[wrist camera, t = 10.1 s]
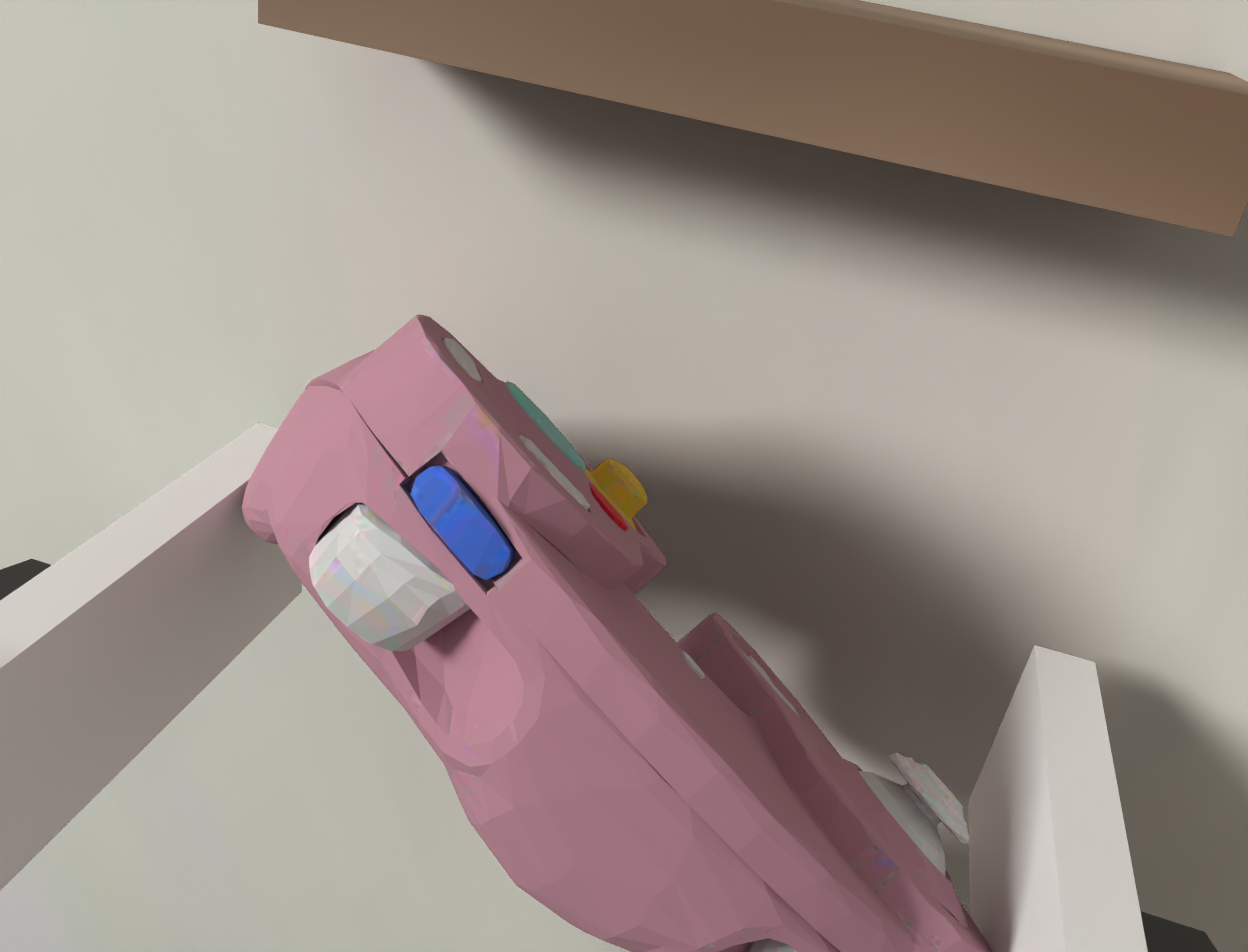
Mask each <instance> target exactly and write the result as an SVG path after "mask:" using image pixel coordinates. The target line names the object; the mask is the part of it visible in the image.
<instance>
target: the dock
mask: <svg viewBox="0 0 1248 952" xmlns="http://www.w3.org/2000/svg"><path fill="white" fill-rule="evenodd" d="M258 23H260V24H264V25H269V26H273V27H278V28H282V29H287V30H291V31H296V32H301V33H305V34H310V35H314V36H319V37H323V38H328V39H332V40H337V41H342V42H346V43H351V44H355V45H360V46H364V47H369V48H373V49H378V50H383V51H387V52H392V53H396V54H401V55H405V56H410V57H414V58H419V59H424V60H428V61H433V62H437V63H442V64H446V65H451V66H455V67H460V68H465V69H469V70H474V71H478V72H483V73H487V74H492V75H496V76H501V77H506V78H510V79H515V80H519V81H524V82H528V83H533V84H537V85H542V86H547V87H551V88H556V89H560V90H565V91H569V92H574V93H578V94H583V95H588V96H592V97H597V98H601V99H606V100H610V101H615V102H619V103H624V104H629V105H633V106H638V107H642V108H647V109H651V110H656V111H660V112H665V113H670V114H674V115H679V116H683V117H688V118H692V119H697V120H701V121H706V122H711V123H715V124H720V125H724V126H729V127H733V128H738V129H742V130H747V131H752V132H756V133H761V134H765V135H770V136H774V137H779V138H783V139H788V140H793V141H797V142H802V143H806V144H811V145H815V146H820V147H824V148H829V149H834V150H838V151H843V152H847V153H852V154H856V155H861V156H865V157H870V158H875V159H879V160H884V161H888V162H893V163H897V164H902V165H906V166H911V167H916V168H920V169H925V170H929V171H934V172H938V173H943V174H947V175H952V176H957V177H961V178H966V179H970V180H975V181H979V182H984V183H988V184H993V185H998V186H1002V187H1007V188H1011V189H1016V190H1020V191H1025V192H1029V193H1034V194H1039V195H1043V196H1048V197H1052V198H1057V199H1061V200H1066V201H1070V202H1075V203H1080V204H1084V205H1089V206H1093V207H1098V208H1102V209H1107V210H1111V211H1116V212H1121V213H1125V214H1130V215H1134V216H1139V217H1143V218H1148V219H1152V220H1157V221H1162V222H1166V223H1171V224H1175V225H1180V226H1184V227H1189V228H1193V229H1198V230H1203V231H1207V232H1212V233H1216V234H1221V235H1225V236H1230V237H1233V235H1234V233H1235V231H1236V228H1237V226H1238V224H1239V222H1240V219H1241V217H1242V215H1243V212H1244V210H1245V208H1246V205H1247V203H1248V82H1247V81H1244V80H1242V79H1240V78H1238V77H1236V76H1234V75H1232V74H1230V73H1226V72H1221V71H1216V70H1211V69H1206V68H1201V67H1196V66H1191V65H1186V64H1180V63H1175V62H1170V61H1165V60H1160V59H1155V58H1150V57H1145V56H1140V55H1135V54H1130V53H1124V52H1119V51H1114V50H1109V49H1104V48H1099V47H1094V46H1089V45H1084V44H1079V43H1074V42H1068V41H1063V40H1058V39H1053V38H1048V37H1043V36H1038V35H1033V34H1028V33H1023V32H1018V31H1012V30H1007V29H1002V28H997V27H992V26H987V25H982V24H977V23H972V22H967V21H962V20H956V19H951V18H946V17H941V16H936V15H931V14H926V13H921V12H916V11H911V10H906V9H901V8H895V7H890V6H885V5H880V4H875V3H870V2H865V1H860V0H258Z"/></svg>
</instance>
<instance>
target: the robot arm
mask: <svg viewBox="0 0 1248 952" xmlns="http://www.w3.org/2000/svg"><path fill="white" fill-rule="evenodd" d="M278 429H279V428H275V427H272V426H268V425H265V424H261V423H257V424H255V425H254V426H252V427H251V428H250V429H248V430H247V431H245V432H244V433H242V434H241V435H239V436H238V437H237V438H235V439H234V440H232V441H231V442H229V443H228V444H226V445H225V446H224V447H222V448H221V449H219V450H218V451H216V452H215V453H213V454H212V455H210V456H209V457H208V458H206V459H205V460H203V461H202V462H200V463H199V464H197V465H196V466H195V467H193V468H192V469H190V470H189V471H187V472H186V473H184V474H183V475H182V476H180V477H179V478H177V479H176V480H174V481H173V482H171V483H170V484H168V485H167V486H166V487H164V488H163V489H161V490H160V491H158V492H157V493H155V494H154V495H153V496H151V497H150V498H148V499H147V500H145V501H144V502H142V503H141V504H140V505H138V506H137V507H135V508H134V509H132V510H131V511H129V512H128V513H126V514H125V515H124V516H122V517H121V518H119V519H118V520H116V521H115V522H113V523H112V524H111V525H109V526H108V527H106V528H105V529H103V530H102V531H100V532H99V533H98V534H96V535H95V536H93V537H92V538H90V539H89V540H87V541H86V542H84V543H83V544H82V545H80V546H79V547H77V548H76V549H74V550H73V551H71V552H70V553H69V554H67V555H66V556H64V557H63V558H61V559H60V560H58V561H57V562H56V563H54V564H53V565H50V564H46V563H43V562H40V561H37V560H34V559H30V560H27V561H24V562H21V563H18V564H16V565H13V566H10V567H7V568H4V569H1V570H0V890H1V889H2V888H3V887H4V886H5V885H6V884H7V883H8V882H9V881H10V880H11V879H13V878H14V877H15V876H16V875H17V874H18V873H19V872H20V871H21V870H22V869H23V868H24V867H25V866H26V865H27V864H28V863H29V862H30V861H31V860H32V859H33V858H34V857H35V856H36V855H37V854H38V853H39V852H40V851H41V850H42V849H43V848H44V847H45V846H46V845H47V844H48V843H49V842H50V841H51V840H52V839H53V838H54V837H55V836H56V835H57V834H58V833H59V832H60V831H61V830H62V829H63V828H64V827H65V826H66V825H67V824H68V823H69V822H70V821H71V820H72V819H73V818H74V817H75V816H76V815H77V814H78V813H79V812H80V811H81V810H82V809H83V808H84V807H85V806H86V805H87V804H88V803H89V802H90V801H91V800H92V799H93V798H94V797H95V796H96V795H97V794H98V793H99V792H100V791H101V790H102V789H103V788H104V787H105V786H106V785H107V784H108V783H109V782H110V781H111V780H112V779H113V778H114V777H115V776H116V775H117V774H118V773H119V772H120V771H121V770H122V769H123V768H124V767H125V766H126V765H127V764H128V763H129V762H130V761H131V760H132V759H133V758H134V757H135V756H136V755H137V754H138V753H140V752H141V751H142V750H143V749H144V748H145V747H146V746H147V745H148V744H149V743H150V742H151V741H152V740H153V739H154V738H155V737H156V736H157V735H158V734H159V733H160V732H161V731H162V730H163V729H164V728H165V727H166V726H167V725H168V724H169V723H170V722H171V721H172V720H173V719H174V718H175V717H176V716H177V715H178V714H179V713H180V712H181V711H182V710H183V709H184V708H185V707H186V706H187V705H188V704H189V703H190V702H191V701H192V700H193V699H194V698H195V697H196V696H197V695H198V694H199V693H200V692H201V691H202V690H203V689H204V688H205V687H206V686H207V685H208V684H209V683H210V682H211V681H212V680H213V679H214V678H215V677H216V676H217V675H218V674H219V673H220V672H221V671H222V670H223V669H224V668H225V667H226V666H227V665H228V664H229V663H230V662H231V661H232V660H233V659H234V658H235V657H236V656H237V655H238V654H239V653H240V652H241V651H242V650H243V649H244V648H245V647H246V646H247V645H248V644H249V643H250V642H251V641H252V640H253V639H254V638H255V637H256V636H257V635H258V634H259V633H260V632H261V631H262V630H263V629H264V628H265V627H267V626H268V625H269V624H270V623H271V622H272V621H273V620H274V619H275V618H276V617H277V616H278V615H279V614H280V613H281V612H282V611H283V610H284V609H285V608H286V607H287V606H288V605H289V604H290V603H291V602H292V601H293V600H294V599H295V598H296V597H297V596H298V595H299V594H300V593H301V592H302V582H301V581H300V580H299V578H298V577H297V576H296V574H295V573H294V571H293V569H292V568H291V566H290V564H289V562H288V561H287V559H286V557H285V556H284V554H283V552H282V550H281V549H280V547H279V544H272V543H268V542H265V541H264V540H262V539H261V538H260V537H259V536H258V535H256V534H255V533H254V532H253V531H252V530H251V529H250V528H249V526H248V525H247V523H246V522H245V520H244V516H243V511H242V504H243V498H244V493H245V490H246V487H247V484H248V481H249V479H250V477H251V475H252V473H253V472H254V470H255V468H256V466H257V464H258V463H259V461H260V459H261V457H262V456H263V454H264V452H265V450H266V448H267V447H268V445H269V443H270V442H271V440H272V439H273V437H274V436H275V434H276V432H277V431H278ZM969 836H970V839H969V911H970V917H971V918H972V920H973V921H974V923H975V924H976V926H977V927H978V929H979V930H980V932H981V933H982V935H983V936H984V938H985V939H986V940H987V942H988V944H989V946H990V948H991V949H992V951H993V952H1218V951H1217V950H1216V948H1215V947H1214V945H1213V944H1212V942H1211V941H1210V939H1209V938H1208V936H1207V935H1206V933H1205V932H1203V931H1200V930H1197V929H1194V928H1190V927H1187V926H1184V925H1181V924H1178V923H1175V922H1172V921H1169V920H1166V919H1162V918H1159V917H1156V916H1153V915H1150V914H1147V913H1144V912H1141V911H1140V907H1139V901H1138V896H1137V890H1136V885H1135V879H1134V874H1133V868H1132V863H1131V857H1130V852H1129V846H1128V841H1127V835H1126V830H1125V824H1124V819H1123V813H1122V808H1121V802H1120V797H1119V791H1118V786H1117V780H1116V775H1115V769H1114V764H1113V758H1112V753H1111V747H1110V742H1109V736H1108V731H1107V725H1106V720H1105V714H1104V709H1103V703H1102V698H1101V692H1100V687H1099V681H1098V676H1097V670H1096V665H1095V662H1092V661H1089V660H1085V659H1082V658H1078V657H1075V656H1071V655H1068V654H1064V653H1061V652H1057V651H1054V650H1050V649H1047V648H1043V647H1040V646H1036V645H1034V647H1033V650H1032V652H1031V655H1030V657H1029V659H1028V662H1027V664H1026V666H1025V669H1024V671H1023V673H1022V676H1021V678H1020V680H1019V683H1018V685H1017V688H1016V690H1015V692H1014V695H1013V697H1012V699H1011V702H1010V704H1009V706H1008V709H1007V711H1006V713H1005V716H1004V718H1003V721H1002V723H1001V725H1000V728H999V730H998V732H997V735H996V737H995V739H994V742H993V744H992V746H991V749H990V751H989V753H988V756H987V758H986V761H985V763H984V765H983V768H982V770H981V772H980V775H979V777H978V779H977V782H976V784H975V786H974V789H973V791H972V794H971V796H970V798H969Z"/></svg>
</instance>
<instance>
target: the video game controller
mask: <svg viewBox="0 0 1248 952" xmlns="http://www.w3.org/2000/svg"><path fill="white" fill-rule="evenodd" d="M647 501H648V498H647V495H646V493H645V490H644V488H643V486H642V485H641V483H640V482H639V480H638V479H637V478H636V476H635V475H634V474H633V473H632V472H631V471H630V470H629V469H628V468H627V467H626V466H624V465H623V464H621V463H619V462H617V461H616V460H614V459H606V460H605V461H604V462H602V463H601V464H600V465H599V466H598V467H596V468H595V469H594V470H593V469H592V468H591V467H590V466H589V465H588V464H587V462H586V461H585V460H584V459H583V458H582V457H581V456H580V455H579V454H578V453H577V452H576V451H575V450H574V448H573V447H572V446H571V445H570V443H569V442H568V441H567V440H566V438H565V437H564V436H563V435H562V434H561V432H560V431H559V430H558V429H557V428H556V427H555V425H554V424H553V423H552V422H551V421H550V420H549V419H548V417H547V416H546V415H545V414H544V413H543V412H542V411H541V410H540V409H539V408H538V407H537V406H536V405H535V404H534V403H533V402H532V401H531V400H530V399H529V398H528V397H527V396H526V395H525V394H524V393H523V392H522V391H521V390H520V389H519V388H518V387H517V386H516V385H515V384H513V383H510V382H506V383H504V382H502V381H500V380H498V379H496V378H495V377H494V376H493V375H492V374H491V373H490V372H489V371H488V370H487V369H486V368H485V367H484V366H483V365H482V364H481V363H480V362H479V361H478V360H477V359H476V358H475V357H474V356H473V355H472V354H471V353H470V352H469V351H468V350H467V349H466V348H465V347H464V346H463V345H462V344H461V343H460V342H459V341H458V340H457V339H456V338H455V337H454V336H453V335H452V334H450V333H449V332H448V331H447V330H445V329H444V328H443V327H442V326H440V325H439V324H438V323H437V322H435V321H434V320H433V319H432V318H430V317H428V316H424V315H416V316H415V317H414V318H413V319H412V320H410V321H409V322H408V323H407V324H406V325H405V326H403V327H402V328H401V329H400V330H399V331H397V332H396V333H395V334H394V335H393V336H392V337H390V338H389V339H388V340H387V341H386V342H384V343H383V344H382V345H381V346H380V347H379V348H377V349H376V350H373V351H371V352H369V353H367V354H364V355H362V356H360V357H358V358H356V359H353V360H351V361H349V362H347V363H345V364H343V365H341V366H339V367H337V368H335V369H333V370H331V371H329V372H328V373H326V374H324V375H322V376H320V377H318V378H316V379H314V380H312V381H311V382H310V383H309V384H308V386H307V387H306V389H305V391H304V392H303V393H302V395H301V396H300V397H299V399H298V400H297V401H296V403H295V405H294V406H293V408H292V409H291V411H290V412H289V414H288V415H287V417H286V418H285V420H284V422H283V423H282V425H281V426H280V428H279V429H278V431H277V432H276V434H275V436H274V437H273V439H272V440H271V442H270V443H269V445H268V447H267V448H266V450H265V452H264V454H263V456H262V457H261V459H260V461H259V463H258V464H257V466H256V468H255V470H254V472H253V473H252V475H251V477H250V479H249V481H248V484H247V487H246V490H245V493H244V498H243V504H242V511H243V516H244V520H245V522H246V523H247V525H248V526H249V528H250V529H251V530H252V531H253V532H254V533H255V534H256V535H258V536H259V537H260V538H261V539H262V540H264V541H265V542H268V543H272V544H279V547H280V549H281V550H282V552H283V554H284V556H285V557H286V559H287V561H288V562H289V564H290V566H291V568H292V569H293V571H294V573H295V574H296V576H297V577H298V578H299V580H300V581H301V582H302V583H303V585H304V586H305V587H306V589H307V590H308V591H309V593H310V594H311V595H312V596H313V598H314V599H315V600H316V602H317V603H318V604H319V605H320V607H321V608H322V609H323V611H324V612H325V613H326V615H327V616H328V617H329V618H330V620H331V621H332V622H333V624H334V625H335V626H336V628H337V629H338V630H339V631H340V633H341V634H342V635H343V636H344V638H345V639H346V640H347V641H348V643H349V644H350V645H351V646H352V648H353V649H354V650H355V651H356V652H357V654H358V655H359V656H360V657H361V658H362V659H363V661H364V662H365V663H366V664H367V665H368V666H369V668H370V669H371V670H372V671H373V672H374V673H375V675H376V676H377V677H378V678H379V679H380V680H381V682H382V683H383V684H384V685H385V686H386V687H387V689H388V690H389V691H390V692H391V693H392V694H393V696H394V697H395V698H396V699H397V700H398V701H399V703H400V704H401V705H402V706H403V707H404V708H405V710H406V711H407V713H408V714H409V716H410V717H411V718H412V720H413V721H414V723H415V724H416V725H417V727H418V728H419V730H420V731H421V732H422V734H423V735H424V737H425V738H426V739H427V741H428V742H429V744H430V745H431V747H432V748H433V749H434V751H435V752H436V754H437V755H438V756H439V758H440V759H441V761H442V762H443V763H444V765H445V767H446V770H447V772H448V774H449V777H450V779H451V781H452V784H453V786H454V788H455V791H456V793H457V795H458V798H459V800H460V802H461V805H462V807H463V809H464V811H465V813H466V815H467V818H468V820H469V821H470V823H471V824H472V826H473V827H474V828H475V830H476V831H477V832H478V834H479V835H480V837H481V838H482V839H483V841H484V842H485V843H486V845H487V846H488V847H489V849H490V850H491V852H492V853H493V854H494V856H495V857H496V858H497V860H498V861H499V862H500V864H501V865H502V867H503V868H504V869H505V871H506V872H507V873H508V875H509V876H510V878H511V879H512V880H513V882H514V883H515V884H516V885H517V886H518V887H520V888H521V889H522V890H524V891H525V892H527V893H528V894H529V895H531V896H532V897H534V898H535V899H536V900H538V901H539V902H540V903H542V904H543V905H545V906H546V907H547V908H549V909H550V910H552V911H553V912H554V913H556V914H557V915H559V916H560V917H561V918H563V919H564V920H565V921H567V922H568V923H570V924H571V925H573V926H575V927H577V928H579V929H580V930H582V931H584V932H586V933H588V934H590V935H593V936H595V937H597V938H599V939H601V940H604V941H606V942H609V943H611V944H614V945H616V946H619V947H621V948H624V949H626V950H629V951H631V952H993V951H992V949H991V948H990V946H989V944H988V942H987V940H986V939H985V938H984V936H983V935H982V933H981V932H980V930H979V929H978V927H977V926H976V924H975V923H974V921H973V920H972V918H971V917H970V916H969V914H968V913H967V912H966V910H965V909H964V908H963V906H962V905H961V904H960V902H959V900H958V898H957V895H956V892H955V890H954V887H953V884H952V882H951V880H950V877H949V875H948V873H947V872H946V870H945V853H944V850H943V847H942V844H941V840H940V837H939V834H938V831H937V828H936V826H937V825H938V824H939V823H940V821H941V822H942V823H943V824H944V825H945V826H946V827H947V828H948V829H949V830H950V831H951V832H952V833H953V834H954V836H955V837H956V838H957V839H958V840H959V841H960V842H961V843H963V844H966V845H968V844H969V839H970V836H969V833H968V830H967V822H966V820H965V819H964V816H963V806H962V804H961V803H960V802H959V801H958V800H957V798H956V797H955V796H954V795H953V794H952V793H951V791H950V790H949V789H948V788H947V787H946V785H945V784H944V783H943V782H942V781H941V779H940V778H939V777H938V776H937V775H936V774H935V773H934V772H933V771H932V770H931V769H930V768H929V767H928V765H927V764H919V763H916V762H915V760H914V759H913V758H910V757H904V756H902V755H901V754H899V753H893V754H891V755H890V756H889V758H890V759H891V761H892V762H893V763H894V765H895V766H896V767H897V769H898V770H899V771H900V772H901V774H902V775H903V776H904V778H905V779H906V780H907V782H908V783H907V784H906V785H904V786H901V785H899V784H897V783H894V782H892V781H890V780H888V779H885V778H883V777H881V776H879V775H876V774H874V773H871V772H864V771H862V770H861V769H860V768H859V767H858V766H857V765H855V764H853V763H851V762H849V761H847V760H845V759H843V758H842V757H841V756H840V755H839V753H838V752H837V751H836V750H835V748H834V747H833V746H832V744H831V743H830V742H829V741H828V739H827V738H826V737H825V735H824V734H823V733H822V732H821V730H820V729H819V728H818V726H817V725H816V724H815V723H814V721H813V720H812V719H811V717H810V716H809V715H808V714H807V712H806V711H805V710H804V709H803V707H802V706H801V705H800V703H799V702H798V701H797V700H796V698H795V697H794V696H793V695H792V694H791V693H790V691H789V690H788V689H787V688H786V687H785V686H784V684H783V683H782V682H781V681H780V680H779V678H778V677H777V676H776V675H775V674H774V673H773V671H772V670H771V669H770V668H769V667H768V666H767V664H766V663H765V662H764V661H763V660H762V658H761V657H760V656H759V655H758V654H757V653H756V652H755V650H754V649H753V648H752V647H751V646H750V645H749V644H748V643H747V642H746V641H745V640H744V639H743V638H742V637H741V636H740V635H739V633H738V632H737V631H736V630H735V629H734V628H733V627H732V626H731V625H730V624H729V623H728V622H727V621H726V620H724V619H723V618H722V617H721V616H719V615H718V614H717V613H713V614H711V615H709V616H708V617H707V618H706V619H704V620H703V621H702V622H701V623H700V624H699V625H697V626H696V627H695V628H694V629H693V630H692V631H690V632H689V633H688V634H687V635H686V636H685V637H683V638H682V639H681V640H680V641H679V642H678V643H676V642H675V641H674V640H673V639H672V638H671V636H670V635H669V634H668V633H667V632H666V631H665V630H664V629H663V628H662V626H661V625H660V624H659V623H658V622H657V621H656V620H655V619H654V618H653V616H652V615H651V614H650V613H649V612H648V611H647V610H646V609H645V608H644V606H643V605H642V604H641V603H640V602H639V601H638V600H637V599H636V598H635V596H634V595H635V594H636V593H637V592H638V591H639V590H640V589H641V588H643V587H644V586H645V585H646V584H647V583H648V582H649V581H650V580H652V579H653V578H654V577H655V576H656V575H657V574H658V573H660V572H661V571H662V570H663V569H664V568H665V567H666V566H667V560H666V557H665V556H664V554H663V553H662V551H661V550H660V549H659V547H658V546H657V545H656V543H655V542H654V541H653V539H652V538H651V537H650V535H649V534H648V533H647V531H646V530H645V528H644V527H643V526H642V524H641V523H640V522H639V520H638V519H637V518H636V517H635V515H636V514H637V513H638V512H639V511H640V510H641V509H642V508H643V507H644V506H645V505H646V504H647Z"/></svg>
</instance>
